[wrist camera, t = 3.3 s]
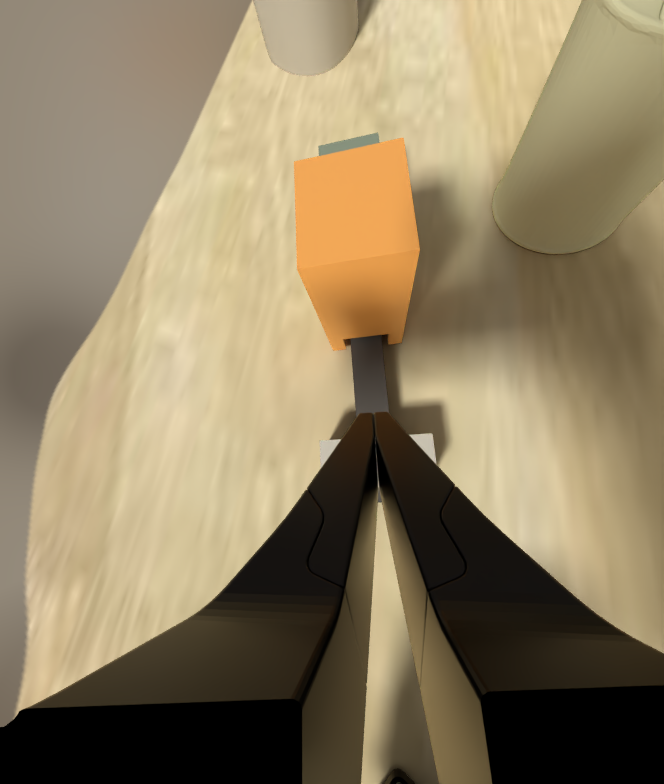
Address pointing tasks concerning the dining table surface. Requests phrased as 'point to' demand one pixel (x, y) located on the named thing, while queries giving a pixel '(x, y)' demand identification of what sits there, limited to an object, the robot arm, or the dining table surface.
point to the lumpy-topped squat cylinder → (307, 33)
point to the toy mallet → (368, 351)
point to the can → (590, 132)
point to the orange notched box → (357, 240)
